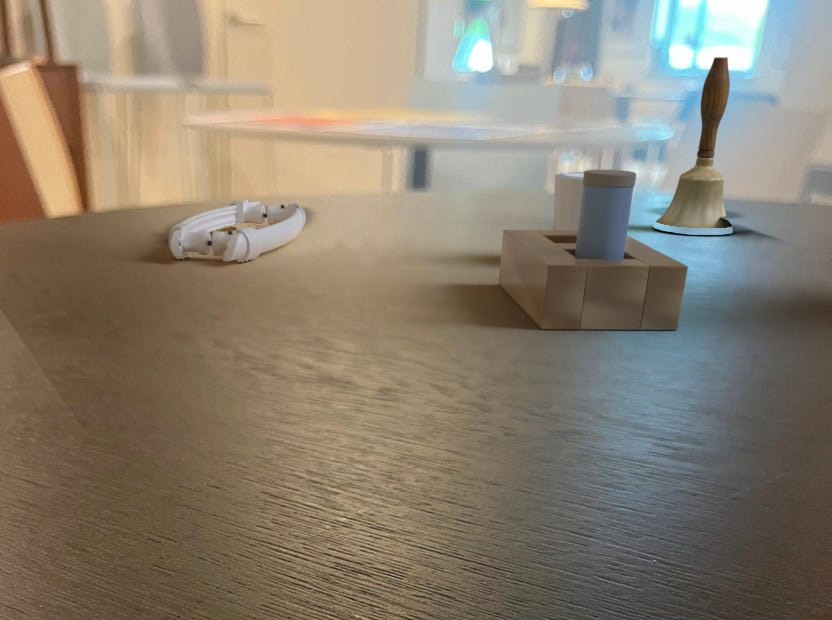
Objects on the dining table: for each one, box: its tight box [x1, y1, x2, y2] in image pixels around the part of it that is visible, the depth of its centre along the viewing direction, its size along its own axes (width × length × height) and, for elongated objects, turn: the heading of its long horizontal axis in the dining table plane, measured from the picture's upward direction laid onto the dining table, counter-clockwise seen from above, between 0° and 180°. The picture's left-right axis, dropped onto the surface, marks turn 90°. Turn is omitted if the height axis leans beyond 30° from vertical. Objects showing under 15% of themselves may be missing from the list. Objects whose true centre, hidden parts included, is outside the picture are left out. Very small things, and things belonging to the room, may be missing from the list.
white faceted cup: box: [553, 171, 638, 231], centre depth 87 cm, size 7×7×7 cm
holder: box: [498, 229, 689, 331], centre depth 72 cm, size 9×16×4 cm, turn 3°
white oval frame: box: [168, 199, 307, 263], centre depth 94 cm, size 3×10×25 cm
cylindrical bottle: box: [575, 169, 637, 259], centre depth 68 cm, size 3×3×9 cm
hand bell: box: [655, 56, 733, 228], centre depth 104 cm, size 8×8×16 cm
